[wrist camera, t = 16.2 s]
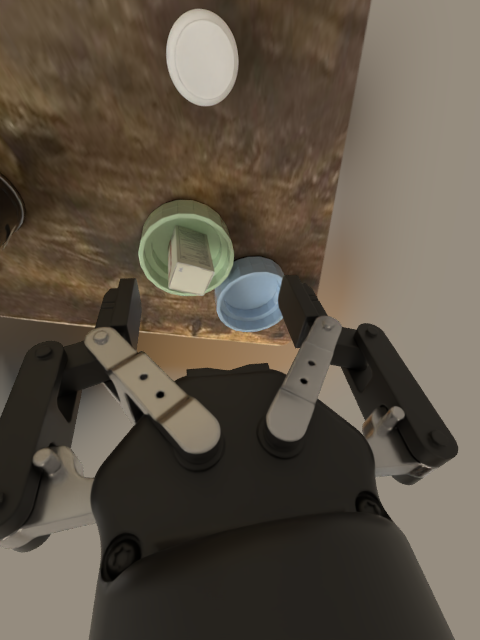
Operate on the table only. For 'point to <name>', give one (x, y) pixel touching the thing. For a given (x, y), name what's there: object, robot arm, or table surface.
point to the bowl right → (250, 295)
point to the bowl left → (190, 217)
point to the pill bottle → (202, 57)
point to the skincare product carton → (189, 261)
